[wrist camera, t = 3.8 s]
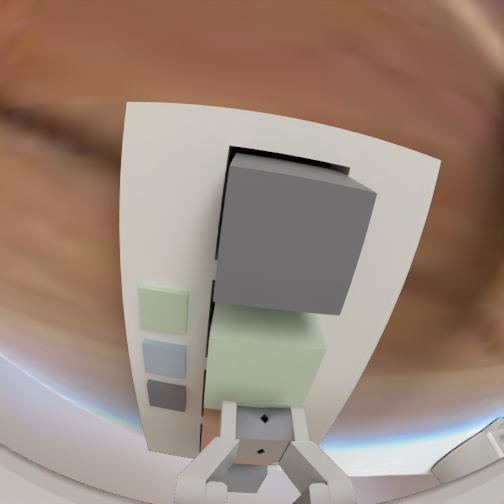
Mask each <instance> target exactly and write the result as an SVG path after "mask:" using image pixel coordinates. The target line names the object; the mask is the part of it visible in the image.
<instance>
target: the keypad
mask: <svg viewBox="0 0 504 504" xmlns="http://www.w3.org/2000/svg"><path fill="white" fill-rule="evenodd" d="M233 146H236V147H244V148H250V149H257V150H264V151H270V152H276V153H282V154H287V155H293V156H298V157H303V158H308V159H313V160H318V161H323V162H328V163H331V165H330V169H334V170H338V171H340V172H341V173H343V174H345V175H347V176H349V177H350V178H352V179H354V180H356V181H357V182H359V183H361V184H363V185H364V186H366V187H368V188H369V189H371V190H373V191H374V192H376V193H377V196H376V200H375V204H374V208H373V212H372V215H371V219H370V223H369V226H368V230H367V233H366V237H365V240H364V244H363V247H362V250H361V254H360V257H359V260H358V263H357V267H356V270H355V273H354V276H353V279H352V282H351V285H350V288H349V291H348V294H347V297H346V299H345V302H344V305H343V308H342V311H341V313H340V316H338V315H326V314H316V316H317V319H318V322H319V326H320V329H321V332H322V335H323V338H324V342H325V345H326V348H327V350H326V352H325V355H324V357H323V360H322V362H321V365H320V367H319V369H318V372H317V374H316V376H315V379H314V381H313V383H312V386H311V388H310V390H309V392H308V394H307V397H306V399H305V401H304V403H303V405H302V406H303V408H304V411H305V417H306V423H307V429H308V435H309V441H314V442H315V443H316V444H317V446H318V445H319V444H320V442H321V441H322V439H323V438H324V436H325V435H326V433H327V432H328V430H329V429H330V427H331V426H332V424H333V422H334V421H335V419H336V418H337V416H338V414H339V413H340V411H341V409H342V408H343V406H344V404H345V403H346V401H347V399H348V398H349V396H350V394H351V393H352V391H353V389H354V387H355V385H356V384H357V382H358V380H359V378H360V376H361V375H362V373H363V371H364V369H365V367H366V365H367V363H368V361H369V359H370V357H371V355H372V353H373V351H374V349H375V347H376V345H377V343H378V341H379V339H380V337H381V335H382V333H383V331H384V329H385V326H386V324H387V322H388V320H389V318H390V315H391V313H392V311H393V308H394V306H395V304H396V301H397V299H398V297H399V294H400V292H401V289H402V287H403V284H404V282H405V279H406V276H407V274H408V271H409V268H410V266H411V263H412V260H413V257H414V254H415V252H416V249H417V246H418V243H419V240H420V237H421V234H422V230H423V227H424V224H425V221H426V217H427V214H428V210H429V207H430V203H431V200H432V196H433V192H434V188H435V184H436V180H437V176H438V172H439V167H440V163H441V160H438V159H436V158H433V157H430V156H428V155H425V154H422V153H419V152H417V151H414V150H411V149H408V148H405V147H402V146H399V145H396V144H393V143H389V142H386V141H383V140H380V139H376V138H373V137H369V136H366V135H362V134H359V133H355V132H351V131H347V130H344V129H340V128H336V127H331V126H327V125H323V124H318V123H314V122H309V121H304V120H300V119H294V118H289V117H284V116H278V115H273V114H266V113H260V112H254V111H247V110H239V109H231V108H223V107H214V106H203V105H191V104H176V103H155V102H127V107H126V115H125V124H124V134H123V145H122V159H121V177H120V263H121V281H122V295H123V307H124V317H125V326H126V335H127V343H128V350H129V357H130V363H131V370H132V376H133V382H134V387H135V393H136V398H137V403H138V408H139V412H140V417H141V421H142V426H143V430H144V434H145V438H146V442H147V446H148V450H150V451H155V452H159V453H164V454H170V455H176V456H181V457H188V458H194V459H195V458H196V457H197V456H198V455H199V454H200V453H201V437H202V423H203V416H204V394H205V381H206V369H207V358H208V346H209V337H210V331H211V317H212V307H213V296H214V286H215V277H216V268H217V260H218V251H219V243H220V234H221V226H222V219H223V211H224V203H225V196H226V188H227V181H228V174H229V167H230V161H231V154H232V148H233ZM273 465H279V462H274V463H273Z"/></svg>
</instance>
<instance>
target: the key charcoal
mask: <svg viewBox="0 0 504 504" xmlns="http://www.w3.org/2000/svg"><path fill="white" fill-rule="evenodd" d="M376 196H377V193H376V192H374V191H373V190H371V189H369V188H368V187H366V186H364V185H363V184H361V183H359V182H357V181H356V180H354V179H352V178H350V177H349V176H347V175H345V174H343V173H341V172H340V171H338V170H334V169H329V168H324V167H319V166H314V165H309V164H304V163H299V162H293V161H288V160H282V159H276V158H270V157H264V156H258V155H251V154H244V153H237V152H236V154H235V156H234V158H233V160H232V162H231V164H230V167H229V174H228V181H227V188H226V196H225V203H224V211H223V219H222V226H221V234H220V243H219V251H218V260H217V268H216V277H215V286H214V296H213V302H220V303H227V304H235V305H243V306H251V307H259V308H267V309H276V310H285V311H295V312H305V313H315V314H326V315H338V316H340V313H341V311H342V308H343V305H344V302H345V299H346V297H347V294H348V291H349V288H350V285H351V282H352V279H353V276H354V273H355V270H356V267H357V263H358V260H359V257H360V254H361V250H362V247H363V244H364V240H365V237H366V233H367V230H368V226H369V223H370V219H371V215H372V212H373V208H374V204H375V200H376Z"/></svg>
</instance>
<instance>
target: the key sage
mask: <svg viewBox="0 0 504 504" xmlns="http://www.w3.org/2000/svg"><path fill="white" fill-rule="evenodd" d="M326 350H327V348H326V345H325V342H324V338H323V335H322V332H321V329H320V326H319V322H318V319H317V316H316V314H315V313H305V312H295V311H285V310H276V309H267V308H259V307H251V306H243V305H235V304H227V303H220V302H215V307H214V313H213V319H212V325H211V331H210V337H209V346H208V358H207V369H206V381H205V394H204V408H210V409H218V410H221V407H222V401H232V402H240V403H250V404H260V405H263V404H267V405H289V406H302V405H303V403H304V401H305V399H306V397H307V394H308V392H309V390H310V388H311V386H312V383H313V381H314V379H315V376H316V374H317V372H318V369H319V367H320V365H321V362H322V360H323V357H324V355H325V352H326Z"/></svg>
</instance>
